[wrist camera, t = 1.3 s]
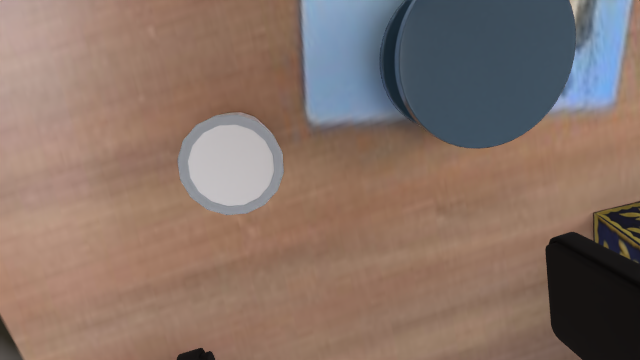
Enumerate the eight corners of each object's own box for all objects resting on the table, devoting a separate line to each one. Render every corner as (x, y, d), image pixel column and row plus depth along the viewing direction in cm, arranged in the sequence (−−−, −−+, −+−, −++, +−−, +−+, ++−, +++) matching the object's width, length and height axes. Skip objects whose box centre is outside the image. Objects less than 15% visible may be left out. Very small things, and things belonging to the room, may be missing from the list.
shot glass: (182, 116, 31) (161, 129, 24) (267, 94, 31) (268, 102, 25) (210, 194, 33) (197, 227, 26) (288, 173, 33) (295, 200, 27)
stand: (356, -4, 30) (380, -21, 24) (511, -47, 31) (570, -74, 25) (391, 152, 34) (418, 170, 28) (527, 110, 35) (581, 119, 29)
